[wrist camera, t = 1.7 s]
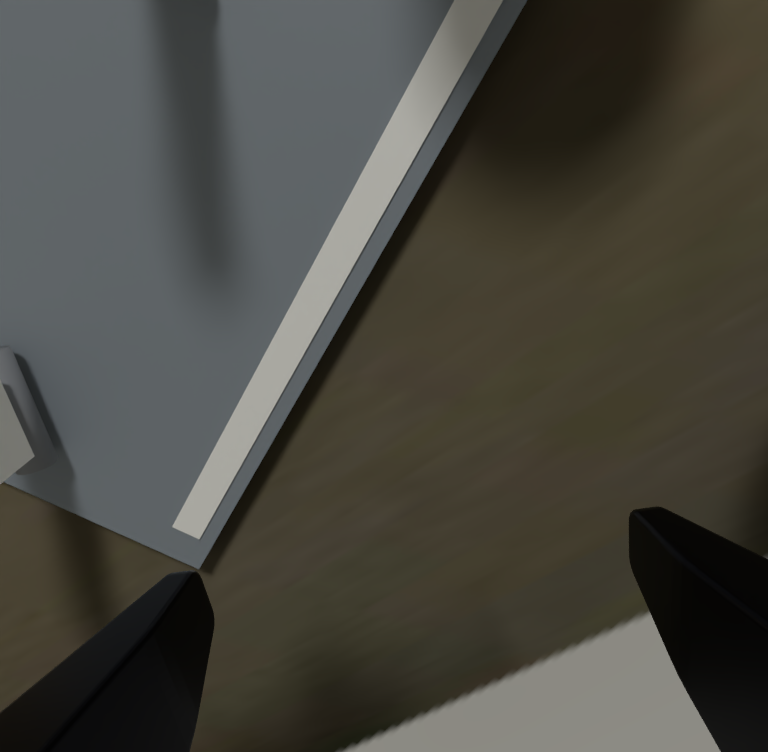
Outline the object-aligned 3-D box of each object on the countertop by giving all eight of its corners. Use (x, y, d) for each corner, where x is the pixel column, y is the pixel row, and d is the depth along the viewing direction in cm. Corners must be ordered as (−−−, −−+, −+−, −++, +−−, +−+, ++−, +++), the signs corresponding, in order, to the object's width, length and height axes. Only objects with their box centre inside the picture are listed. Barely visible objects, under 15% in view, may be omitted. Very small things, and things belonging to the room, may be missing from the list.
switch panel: (547, -41, 16) (561, -59, 15) (207, 550, 24) (197, 572, 23) (61, -407, 14) (26, -468, 12) (-144, 390, 21) (-179, 405, 20)
